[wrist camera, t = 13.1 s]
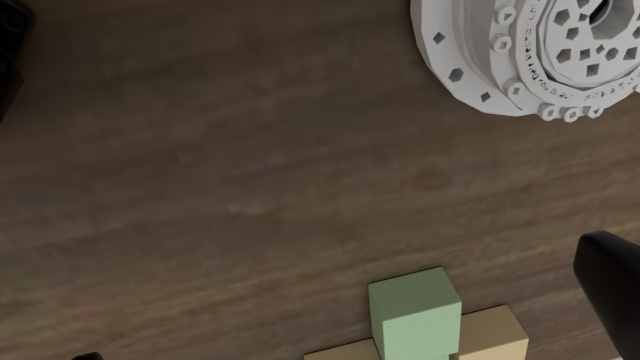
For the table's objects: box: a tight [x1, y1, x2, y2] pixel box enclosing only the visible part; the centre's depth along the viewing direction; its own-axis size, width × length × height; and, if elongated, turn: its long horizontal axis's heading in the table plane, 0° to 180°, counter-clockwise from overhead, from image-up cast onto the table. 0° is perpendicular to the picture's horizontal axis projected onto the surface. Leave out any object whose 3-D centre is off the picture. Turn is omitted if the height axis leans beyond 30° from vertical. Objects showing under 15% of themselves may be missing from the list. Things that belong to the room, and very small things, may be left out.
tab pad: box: [368, 267, 462, 360], centre depth 29 cm, size 7×4×2 cm, turn 6°
